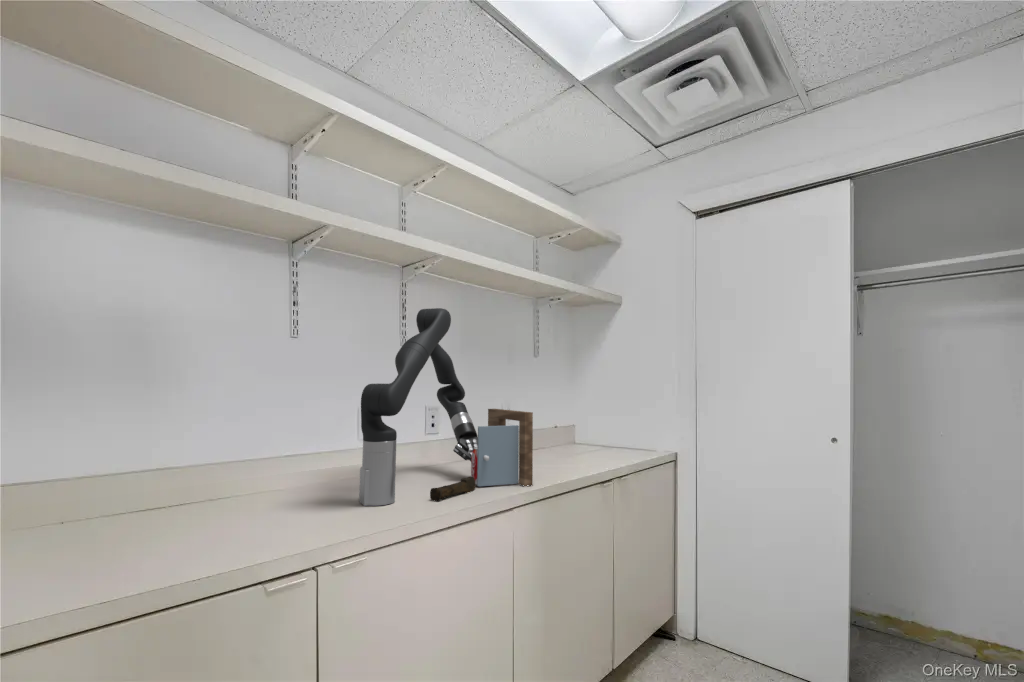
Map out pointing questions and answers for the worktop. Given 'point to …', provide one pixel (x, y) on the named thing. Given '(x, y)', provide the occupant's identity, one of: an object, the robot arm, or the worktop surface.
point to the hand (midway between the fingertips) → (478, 468)
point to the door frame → (525, 438)
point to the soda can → (474, 464)
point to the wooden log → (453, 489)
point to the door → (497, 455)
